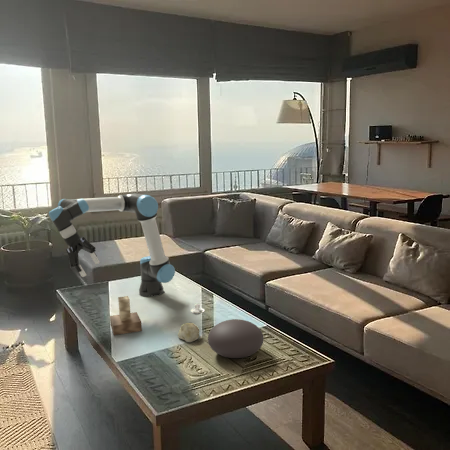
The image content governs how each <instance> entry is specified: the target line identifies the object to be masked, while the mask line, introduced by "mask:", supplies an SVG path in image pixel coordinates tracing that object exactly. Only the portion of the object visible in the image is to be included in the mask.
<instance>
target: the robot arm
mask: <svg viewBox="0 0 450 450" xmlns="http://www.w3.org/2000/svg"><path fill="white" fill-rule="evenodd" d="M158 210H159V203H158V201H157V200H156V198H155V197H154V196H151V195H149V194H142V193H136V192H135V193H128V194H127V193H126V194H119V195H118V196H109V197H93V198H92V197H89V198H87V197H86V198H76V199H75V198H74V199H73V198H70V199H68V198H62V199H60V200H59V201H58V203H57V207H55V208H53V209H51V210H50V211H49V212H48V216H49V219H50V220H51V222H52V223H53V224H54V227H55V228H56V229H57V231H58V232H59V235H60V236H61V237H62V238H63V240H64V242H65V244H66V245H67V246H68V247H69V248H66V249H65V250H66V253H67V255H68V260H69V264H70V267H71V269H73V268H75V269H76V271H77V272H78V273H79V275H80V277H82V278H84V277H86V276H87V273H86V272H85V270H84V268H83V267H82V264H80V263H79V252H80V251H81V250H82V251H84V252H88V253H89V256H90V257H91V259H92V261H93V263H94V264H95V265H98V264H100V263H101V262H100V260H99V258H98V255H97V254H96V246H95V245H93V244H91V242H89V241H88V240H87V239H86V238H85V237H81V236H80V234H79V233H78V232H77V230H76V228H75V226H74V224H73V223H72V221H74V220H75V219H77V218H78V217H80V216H82V215H84V214H85V213H90V212H91V213H92V212H93V213H94V212H108V211H109V212H110V211H119V212H128V213H133V214H135V216H136V217H135V218H136V220H137V222H140V224H141V228H142V232H143V235H144V239H145V243H146V246H147V249H148V253H149V255H148V256H144V257H142V258H140V261H139V264H140V281H141V282H140V285H139V289H138V294H139V296H142V297H157V296H160V295H162V294H163V293H164V291H165V289H164V286H163V284H166V283H169V282H171V281H172V280H173V278H174V277H175V276H176V275H175V274H176V270H175V267H174V265H172V264H171V262H170V259H169V256H167V255H166V254H165V250H164V247H163V242H162V239H161V234H160V232H159V227H158V224H157V217H158ZM162 283H163V284H162Z"/></svg>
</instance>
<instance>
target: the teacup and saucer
mask: <svg viewBox="0 0 450 450" xmlns="http://www.w3.org/2000/svg"><path fill="white" fill-rule="evenodd" d="M193 307H194V308H192V309H190V313H193V314H202V313H204V312H205V311H206V310H205V308H202V307H201V304H200V303H195V304H194V306H193Z"/></svg>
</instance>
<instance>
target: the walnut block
mask: <svg viewBox="0 0 450 450" xmlns="http://www.w3.org/2000/svg"><path fill="white" fill-rule="evenodd" d="M130 314H131V320H125V321H121V320H120V317H119V314H114V315H110V316H109V323H110V328H111V331H112V333H113V334H112V335H113V336H116V335H117V336H119V335H124V334H131V333H138V332H142V331H143V328H142V320H141V317H140V316H139V314H138V312H130Z"/></svg>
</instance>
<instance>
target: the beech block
mask: <svg viewBox="0 0 450 450" xmlns="http://www.w3.org/2000/svg"><path fill="white" fill-rule="evenodd" d="M117 300H118V301H117V302H118V315H119V317H120V320H121V321H125V320H131V314H130V313H131V302H130V301H131V300H130V297H129V295H126V296H125V295H123V296H118V298H117Z"/></svg>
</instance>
